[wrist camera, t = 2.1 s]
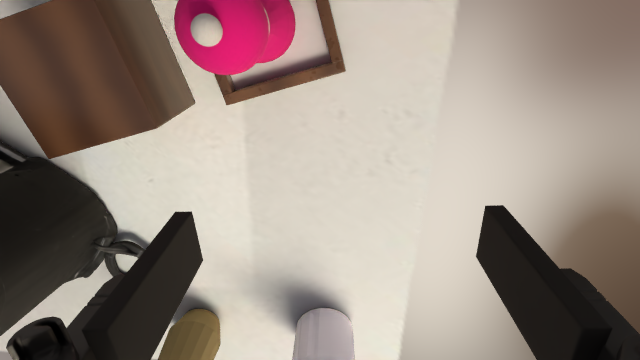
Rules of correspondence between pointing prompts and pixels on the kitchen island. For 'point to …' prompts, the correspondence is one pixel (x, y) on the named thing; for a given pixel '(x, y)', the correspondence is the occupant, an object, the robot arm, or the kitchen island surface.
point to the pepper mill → (234, 32)
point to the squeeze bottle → (193, 337)
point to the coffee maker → (48, 233)
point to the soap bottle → (324, 336)
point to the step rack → (110, 71)
